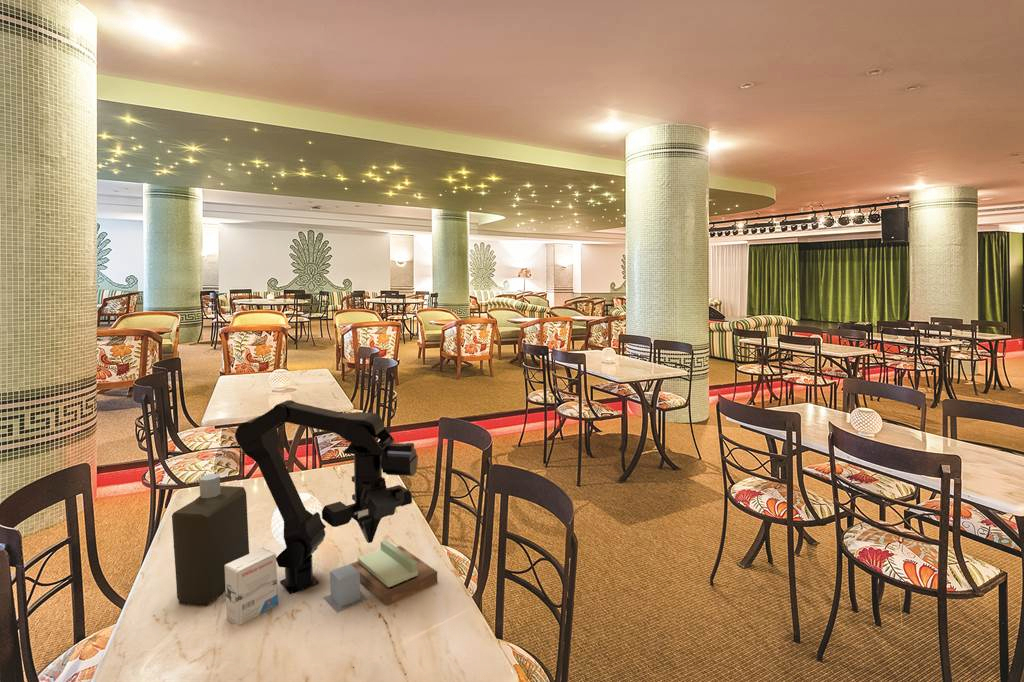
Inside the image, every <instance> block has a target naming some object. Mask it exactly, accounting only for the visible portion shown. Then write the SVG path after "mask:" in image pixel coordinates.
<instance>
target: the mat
mask: <svg viewBox="0 0 1024 682" xmlns="http://www.w3.org/2000/svg"><path fill="white" fill-rule="evenodd" d="M322 599H323V600H324V601H325V602H326V603H327V604H328V605H329V606H330V607H331V608H332V609H333V610H334V611H335V613H340V612H343V611H345V610H347V609H349V608H351V607H355V606H357V605H358V604H361V603H363V602H366V601H369V598H368V597H367V596H366V595H365V594H363V592H361V591H360V599H359V600H356V601H354V602H352V603H349V604H347V605H345V606H342V607H339V606H338V604H337V603H336V602H335V601H334V600H333V599H332V598H331V593H330V594H328V595H326V596H323V597H322Z"/></svg>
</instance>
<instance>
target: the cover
mask: <svg viewBox="0 0 1024 682" xmlns="http://www.w3.org/2000/svg"><path fill="white" fill-rule="evenodd" d="M357 561H358V563H360V564H361V565H362V566H363V567H364V568H366V569H367V570H368V572H369V573H371V574H372V575H373V576H374V577H375V578H377V579H378V580H379V581H380V582H381V583H382V584H384V585H385V586H386V587H387V588H388V589H390V587H395V586H397V585H399V584H400V583H401V584H402V583H404V582H406V581H408V579H410V578H413V577H415V576H417V575H418V562H416V561H415V560H414V559H412V558H411V557H409V556H408V555H407V554H405V553H404V552H402V551H401V550H400V549H398V548H397V546H395V545H394V544H393V543H391V542H390V541H388V540H387V539H384V540H382V541H380V549H379V550H375V551H373V552H370V553H367V554H365V555H363V556H359V557H357Z"/></svg>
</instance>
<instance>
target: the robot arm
mask: <svg viewBox="0 0 1024 682" xmlns="http://www.w3.org/2000/svg"><path fill="white" fill-rule="evenodd" d="M286 423H289V424H293V425H297V426H302V427H307V428H310V429H314V430H315V429H316V430H319V431H324V432H328V433H333V434H336V435H338V436H340V437H341V438H342V439H344V441H346V442H349V443H350V444H349V445H348V446H347V447H346V448H345V449H344V450H343V454H347V455H353V468H354V469H353V475H352V476H351V482H353V483H354V494H352V495H351V497H352V498H351V500H353V501H354V503H351V504H349V505H348V504H347V505H346V504H345V503H344V502H342V501H337V502H333V503H330V504H326V505H324V506H323V508H322V510H321V514H320V513H319V512H318V511H316V512H315V513H311V512H310V511H309V510H308V509H306V507H305V506H304V503H303V501H302V499H301V496H300V494H299V492H298V490H297V488H296V485H295V484H294V481H293V480H292V479H293V478H292V477H291V474H290V472H289V470H288V468H287V466H286V463H285V462H284V460H283V458H282V455H281V453H280V434H279V430H278V429H279V428H281V427H282V426H283V425H284V424H286ZM234 438H235V441H236V443H237V444H238V446H239V447H240V448H241V451H242V452H243V453H244V454H245V455H247V457H249V458H250V459H251V460H253V461H254V462H255V463H257V466H258V468H259V470H260V473H261V475H262V477H263V479H264V481H265V483H266V485H267V487H268V490H269V491H270V494H271V496H272V499H273V501H274V502H275V505H276V507H277V509H278V511H279V514H280V515H281V517H282V521H283V540H284V543H285V548H284V549H283V551H281V552H280V553H279V554H278V555H276V565H277V566H278V568H284V575H285V576H284V579H281V580H280V581H279V584H280V585H281V586H282V587H283V588H284V589H285V591H287V593H288V594H289V595H292V594H293V595H294V594H296V593H298V592H301V591H303V590H306V589H309V588H311V587H314V586H317V585H319V583H320V582H319V580H318V579H317V578H316V577H315V576H314V572H313V571H314V570H313V568H314V567H313V566H314V565H313V553H314V552H315V551H317V550H318V547H319V546H320V545H321V544H322V543H323V542H324V539H325V536H326V530H325V529H326V527H327V526H326V525H325V524H324V522H323V521H325V522H326V523H327V524H328V525H329V526H330V527H333V528H337V527H340V526H343V525H347V524H349V523H350V521H351V520H352V519H354V520H355V521H356V523H357V524H358V527H360V528H359V529H360V530H361V532H362V534H363V536H364V539H365V541H366V542H367V544H371V543H373V542H374V538H375V536H376V532H377V530H378V527H379V524H380V522H381V520H382V519H383V518H385V517H388V516H393V515H395V513H396V508H399V507H404V506H407V505H411V504H412V503H413V494H412V492H411V490H410V489H408V488H405V487H404V486H402V485H400V484H397V485H393V486H390V487H388V486H387V485H386V478H384V477H383V476H382V475H383V474H386V476H401V477H402V476H403V477H404V476H406V477H407V476H408V477H414V476H415V475H416V472H417V469H418V463H419V461H418V460H419V459H418V458H419V457H418V456H419V455H418V454H417V450H416V448H415V444H414V443H412V442H407V443H399V442H398V443H397V442H395V438H394V437H393V436H392V434H391V433H390V432H389V430H388V429H387V427H385V423H384V421H383V419H382V417H381V415H380V414H379V413H378V414H377V413H375V412H363V411H362V412H341V411H336V410H332V409H331V410H330V409H326V408H323V407H318V406H314V405H309V404H304V403H299V402H296V401H294V400H289V399H287V400H285V401H282V402H280V403H278V404H276V405H274V407H273V408H271V409H270V410H268V411H266V412H265V413H264V414H262V415H258V416H256V417H254V418H252V419H249V420H247V421H245V422H242V423H241V424H239V425H238V426H237V428H236V431H235V432H234ZM377 439H379V441H378V440H377Z"/></svg>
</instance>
